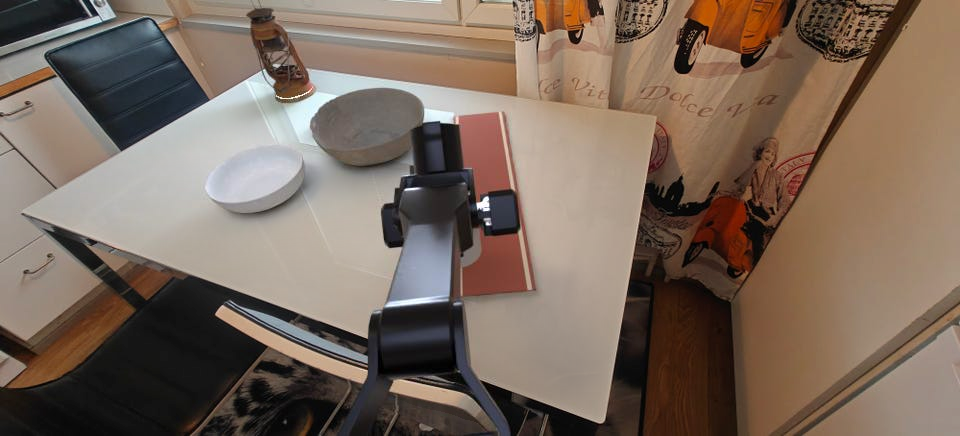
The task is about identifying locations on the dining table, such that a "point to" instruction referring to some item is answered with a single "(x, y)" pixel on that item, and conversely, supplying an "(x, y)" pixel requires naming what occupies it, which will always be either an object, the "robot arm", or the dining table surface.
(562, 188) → the dining table surface
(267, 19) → the lantern
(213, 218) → the dining table surface
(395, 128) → the bowl
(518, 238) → the red table runner
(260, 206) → the serving bowl
